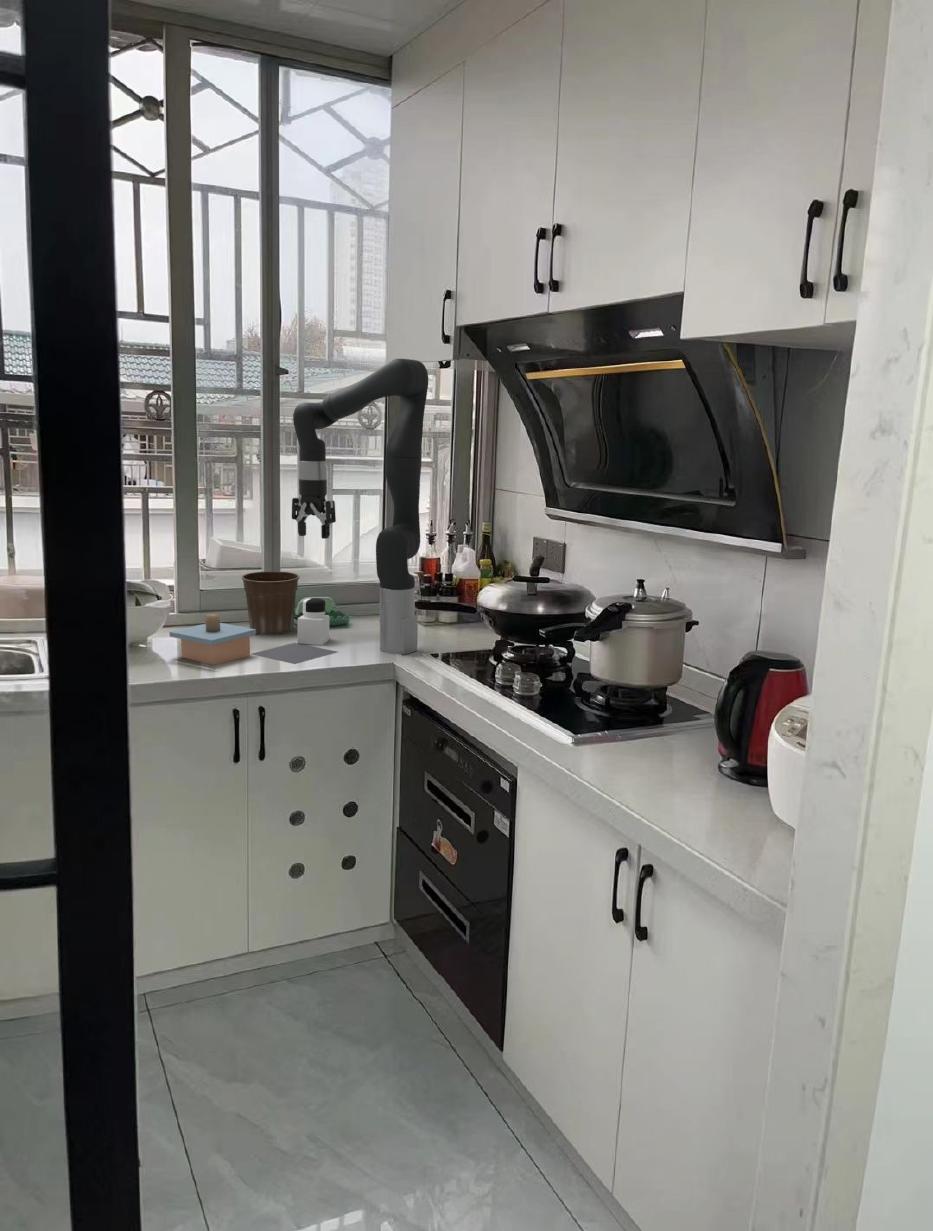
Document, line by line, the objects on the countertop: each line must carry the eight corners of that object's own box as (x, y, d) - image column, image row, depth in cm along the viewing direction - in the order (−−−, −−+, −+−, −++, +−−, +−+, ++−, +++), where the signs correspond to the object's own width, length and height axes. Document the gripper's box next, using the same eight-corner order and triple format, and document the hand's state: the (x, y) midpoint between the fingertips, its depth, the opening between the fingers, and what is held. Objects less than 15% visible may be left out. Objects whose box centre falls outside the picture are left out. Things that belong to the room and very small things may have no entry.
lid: (256, 633, 248) (255, 614, 247) (211, 645, 235) (211, 624, 234) (214, 626, 256) (213, 606, 254) (169, 636, 243) (168, 616, 242)
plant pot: (295, 638, 270) (294, 581, 266) (237, 637, 270) (235, 580, 266) (304, 625, 285) (303, 571, 282) (250, 624, 285) (248, 570, 282)
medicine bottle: (329, 640, 268) (330, 597, 266) (322, 645, 261) (323, 601, 259) (304, 638, 268) (304, 596, 266) (296, 643, 261) (297, 600, 259)
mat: (338, 653, 254) (338, 651, 254) (295, 665, 241) (294, 663, 241) (294, 644, 263) (294, 642, 263) (250, 655, 250) (250, 653, 250)
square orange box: (250, 656, 249) (249, 633, 248) (213, 666, 239) (212, 642, 238) (218, 649, 255) (217, 627, 254) (181, 658, 246) (180, 635, 245)
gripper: (341, 478, 262) (342, 538, 265) (303, 475, 270) (304, 533, 273) (322, 479, 256) (323, 540, 259) (284, 476, 264) (285, 536, 267)
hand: (313, 537), depth 266 cm, fingers open, 8 cm apart
